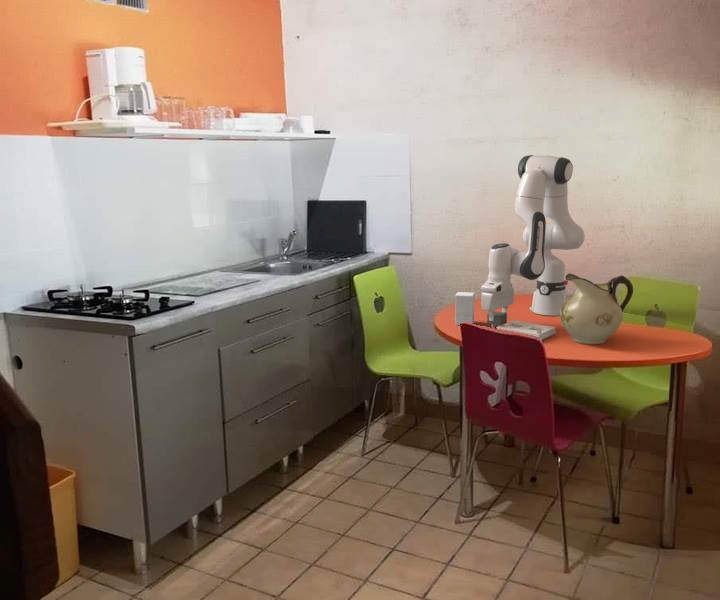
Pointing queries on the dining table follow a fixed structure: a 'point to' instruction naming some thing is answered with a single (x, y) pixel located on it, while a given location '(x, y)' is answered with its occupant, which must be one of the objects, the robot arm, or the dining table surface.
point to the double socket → (529, 329)
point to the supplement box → (464, 307)
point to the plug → (498, 319)
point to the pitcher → (593, 309)
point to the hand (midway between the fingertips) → (497, 318)
